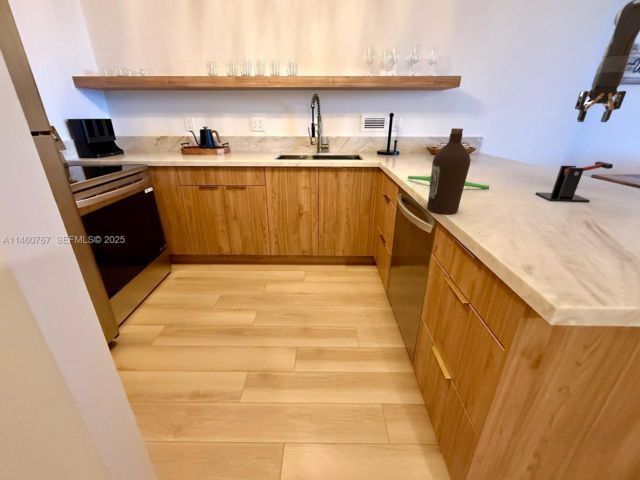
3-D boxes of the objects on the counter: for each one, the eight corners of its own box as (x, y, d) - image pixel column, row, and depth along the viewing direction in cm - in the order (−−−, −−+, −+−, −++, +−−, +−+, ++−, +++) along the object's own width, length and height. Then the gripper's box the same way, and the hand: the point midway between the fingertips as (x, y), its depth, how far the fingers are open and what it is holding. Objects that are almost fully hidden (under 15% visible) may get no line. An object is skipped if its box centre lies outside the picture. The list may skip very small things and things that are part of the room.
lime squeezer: (488, 189, 119) (492, 173, 116) (486, 195, 110) (491, 179, 107) (408, 179, 135) (409, 165, 132) (400, 184, 125) (402, 170, 123)
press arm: (598, 166, 102) (599, 159, 101) (612, 169, 97) (613, 162, 96) (560, 174, 105) (560, 167, 104) (571, 177, 99) (572, 171, 98)
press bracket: (571, 196, 109) (583, 164, 104) (588, 203, 101) (602, 169, 96) (534, 195, 110) (545, 164, 105) (549, 202, 102) (560, 168, 97)
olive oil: (454, 205, 98) (470, 127, 88) (464, 216, 89) (483, 130, 78) (422, 204, 100) (434, 127, 89) (428, 214, 90) (443, 129, 80)
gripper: (596, 71, 98) (578, 122, 105) (642, 70, 97) (621, 122, 104) (580, 73, 105) (564, 121, 112) (623, 72, 104) (604, 121, 110)
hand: (591, 122), depth 108 cm, fingers open, 7 cm apart
